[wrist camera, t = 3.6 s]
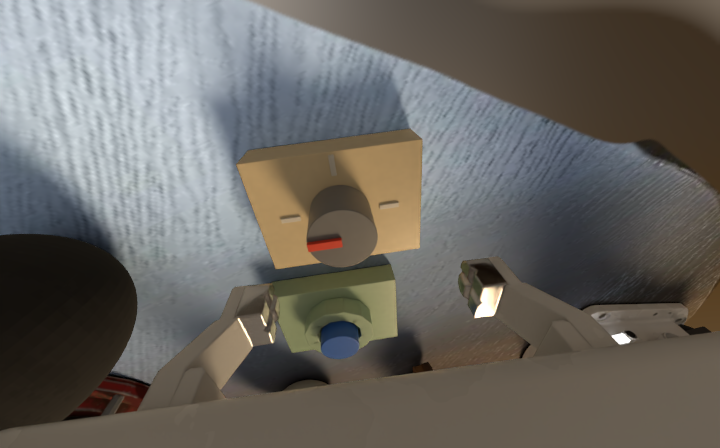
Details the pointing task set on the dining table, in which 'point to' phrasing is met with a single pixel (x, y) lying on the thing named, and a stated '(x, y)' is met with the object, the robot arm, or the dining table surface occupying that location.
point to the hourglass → (111, 398)
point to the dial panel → (329, 168)
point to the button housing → (337, 305)
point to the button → (339, 340)
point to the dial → (341, 227)
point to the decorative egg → (58, 324)
